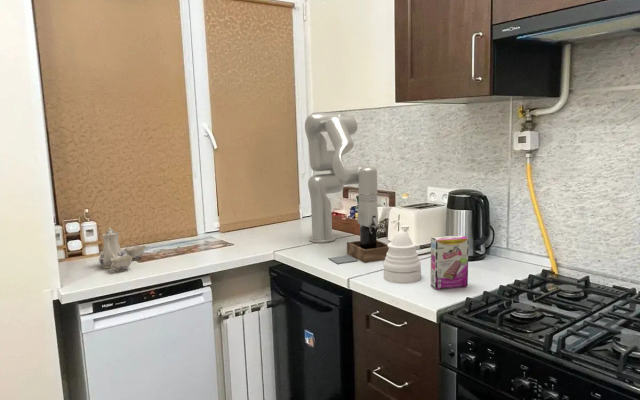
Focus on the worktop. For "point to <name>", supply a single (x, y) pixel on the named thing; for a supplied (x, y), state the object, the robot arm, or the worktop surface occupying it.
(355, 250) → the open-top box
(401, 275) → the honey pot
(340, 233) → the worktop surface
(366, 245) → the supplement bottle
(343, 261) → the grey mat
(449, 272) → the candy bar box
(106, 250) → the chinaware
